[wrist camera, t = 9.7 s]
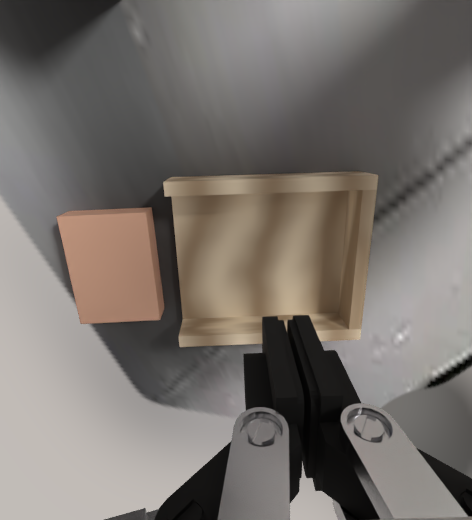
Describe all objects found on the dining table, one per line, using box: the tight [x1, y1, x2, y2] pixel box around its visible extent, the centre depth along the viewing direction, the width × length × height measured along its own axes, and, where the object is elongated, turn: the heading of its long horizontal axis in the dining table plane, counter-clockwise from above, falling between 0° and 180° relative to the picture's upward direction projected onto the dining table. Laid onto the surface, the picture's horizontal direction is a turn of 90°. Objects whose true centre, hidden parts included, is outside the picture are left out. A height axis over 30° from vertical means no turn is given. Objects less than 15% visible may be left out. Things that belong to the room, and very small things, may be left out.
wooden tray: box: [163, 171, 378, 347], centre depth 32 cm, size 18×16×4 cm
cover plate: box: [57, 207, 164, 324], centre depth 33 cm, size 8×11×3 cm
